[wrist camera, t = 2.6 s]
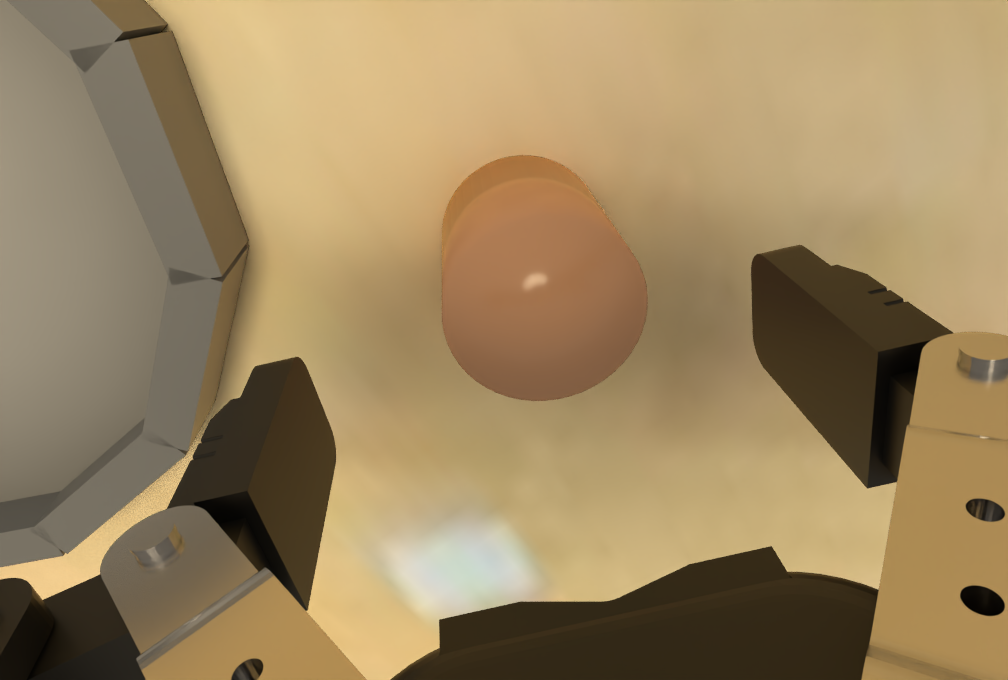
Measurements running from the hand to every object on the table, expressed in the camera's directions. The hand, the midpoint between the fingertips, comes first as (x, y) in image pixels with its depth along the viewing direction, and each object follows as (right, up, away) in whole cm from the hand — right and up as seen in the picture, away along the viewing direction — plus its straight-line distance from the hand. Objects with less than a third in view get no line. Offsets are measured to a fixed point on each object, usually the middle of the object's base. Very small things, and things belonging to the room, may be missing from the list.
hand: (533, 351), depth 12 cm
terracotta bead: (0, +3, +7) cm, 8 cm away
